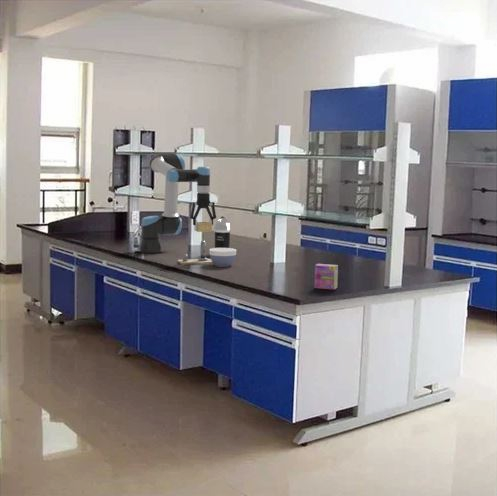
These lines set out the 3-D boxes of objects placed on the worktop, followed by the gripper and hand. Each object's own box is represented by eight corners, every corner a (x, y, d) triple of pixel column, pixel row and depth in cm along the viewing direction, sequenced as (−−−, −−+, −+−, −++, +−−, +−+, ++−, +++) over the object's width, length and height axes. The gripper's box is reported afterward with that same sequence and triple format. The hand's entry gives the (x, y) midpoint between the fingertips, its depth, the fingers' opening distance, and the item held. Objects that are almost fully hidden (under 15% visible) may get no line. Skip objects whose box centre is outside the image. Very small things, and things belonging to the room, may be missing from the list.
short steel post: (182, 260, 427) (182, 254, 426) (187, 260, 428) (187, 254, 427) (183, 261, 424) (183, 254, 423) (188, 261, 425) (188, 254, 424)
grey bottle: (227, 256, 456) (228, 217, 453) (212, 255, 458) (212, 216, 455) (231, 254, 466) (232, 216, 463) (216, 253, 468) (216, 215, 465)
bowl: (231, 268, 410) (231, 252, 408) (205, 266, 414) (205, 250, 413) (239, 264, 425) (239, 248, 424) (214, 262, 429) (214, 247, 428)
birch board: (177, 261, 431) (177, 259, 430) (209, 260, 437) (209, 258, 437) (183, 264, 419) (183, 262, 419) (215, 263, 426) (215, 261, 426)
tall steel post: (197, 259, 431) (197, 240, 430) (205, 259, 433) (206, 240, 431) (200, 261, 426) (200, 241, 425) (208, 260, 428) (208, 241, 426)
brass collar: (194, 230, 430) (194, 222, 429) (207, 230, 432) (207, 221, 432) (198, 231, 422) (198, 223, 421) (211, 231, 425) (211, 223, 424)
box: (314, 288, 357) (314, 264, 355) (317, 286, 362) (318, 263, 360) (334, 290, 352) (334, 266, 351) (337, 288, 358) (338, 264, 356)
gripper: (187, 193, 417) (187, 231, 420) (222, 193, 424) (221, 230, 427) (184, 192, 424) (184, 230, 427) (218, 192, 431) (218, 229, 434)
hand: (203, 230), depth 427 cm, fingers closed on brass collar, 8 cm apart
